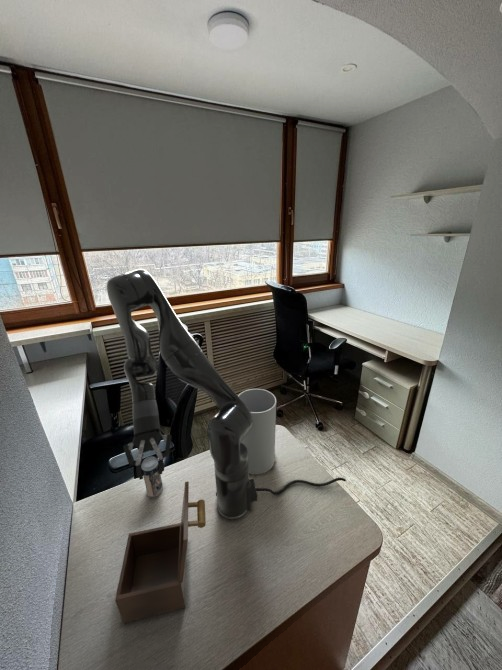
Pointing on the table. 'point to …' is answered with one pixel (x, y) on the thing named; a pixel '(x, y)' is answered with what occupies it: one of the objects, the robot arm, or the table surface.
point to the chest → (151, 574)
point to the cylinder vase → (260, 429)
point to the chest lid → (185, 524)
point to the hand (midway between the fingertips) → (151, 476)
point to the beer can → (152, 476)
